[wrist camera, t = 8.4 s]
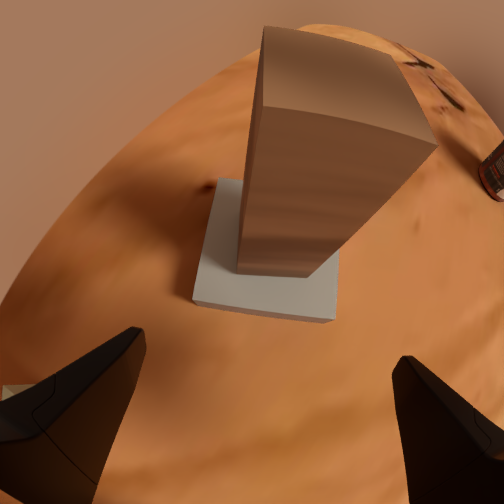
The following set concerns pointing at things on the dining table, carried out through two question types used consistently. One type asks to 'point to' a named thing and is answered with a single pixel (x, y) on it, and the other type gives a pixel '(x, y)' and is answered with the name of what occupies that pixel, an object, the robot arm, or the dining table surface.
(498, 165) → the supplement bottle
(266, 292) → the slate slab
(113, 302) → the dining table surface
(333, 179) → the walnut pillar
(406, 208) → the dining table surface
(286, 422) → the dining table surface
